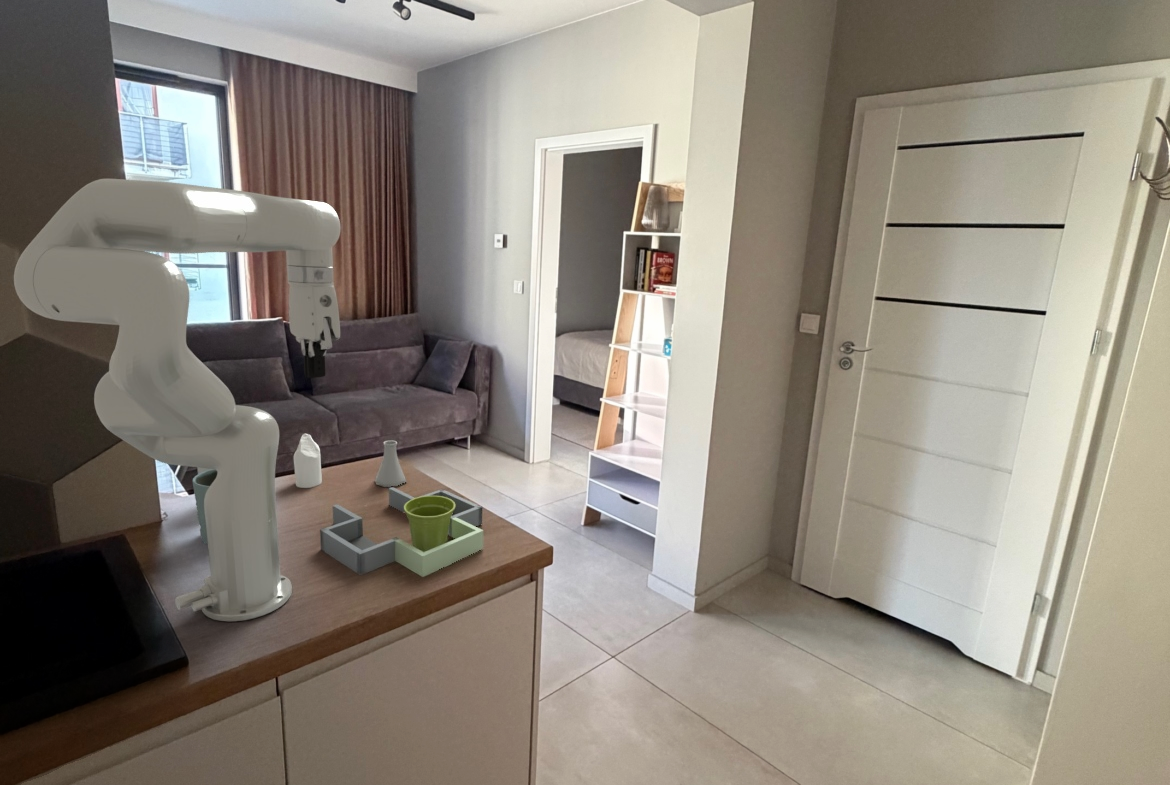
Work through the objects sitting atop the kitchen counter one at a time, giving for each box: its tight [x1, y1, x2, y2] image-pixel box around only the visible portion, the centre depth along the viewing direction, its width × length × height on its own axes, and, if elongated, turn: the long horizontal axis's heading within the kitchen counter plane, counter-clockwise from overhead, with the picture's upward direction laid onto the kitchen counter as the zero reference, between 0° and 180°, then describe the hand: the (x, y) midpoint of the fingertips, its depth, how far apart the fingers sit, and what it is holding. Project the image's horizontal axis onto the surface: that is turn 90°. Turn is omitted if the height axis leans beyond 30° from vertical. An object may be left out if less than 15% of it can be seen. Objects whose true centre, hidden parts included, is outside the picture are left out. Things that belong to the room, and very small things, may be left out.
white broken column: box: [293, 433, 323, 489], centre depth 142 cm, size 6×12×6 cm
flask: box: [374, 440, 407, 488], centre depth 146 cm, size 7×7×10 cm
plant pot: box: [404, 495, 455, 552], centre depth 116 cm, size 9×9×9 cm
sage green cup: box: [192, 469, 218, 546], centre depth 116 cm, size 10×10×12 cm
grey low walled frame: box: [319, 486, 484, 578], centre depth 120 cm, size 28×29×4 cm
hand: (315, 376), depth 114 cm, fingers closed
